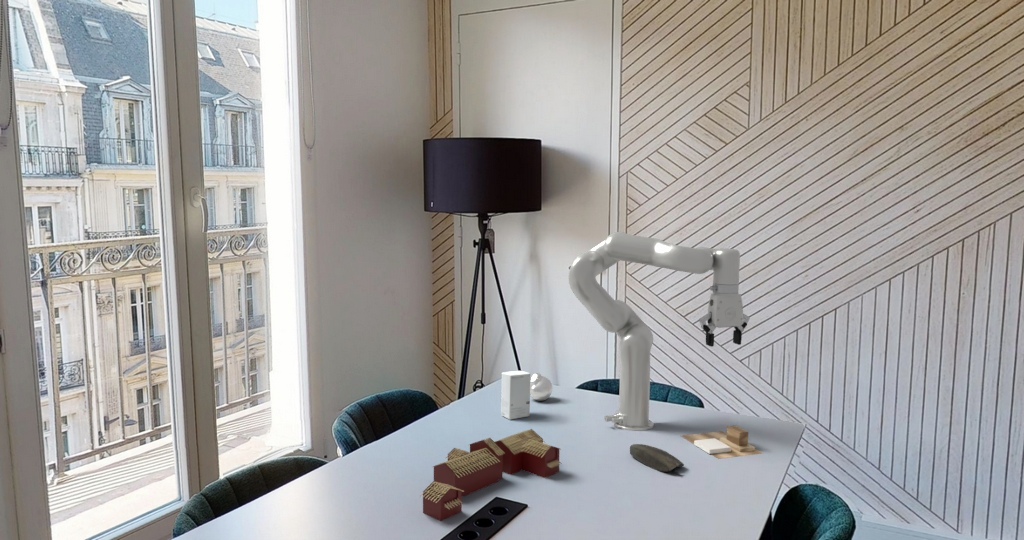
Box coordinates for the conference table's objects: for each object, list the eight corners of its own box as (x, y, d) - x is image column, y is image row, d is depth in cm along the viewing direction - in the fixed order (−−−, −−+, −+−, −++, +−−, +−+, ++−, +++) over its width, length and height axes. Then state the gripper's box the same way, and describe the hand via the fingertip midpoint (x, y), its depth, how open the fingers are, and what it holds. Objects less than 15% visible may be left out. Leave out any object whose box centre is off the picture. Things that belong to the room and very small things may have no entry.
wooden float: (740, 452, 204) (740, 435, 203) (719, 440, 213) (720, 424, 213) (754, 450, 205) (755, 433, 205) (733, 439, 215) (734, 423, 214)
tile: (694, 445, 209) (709, 454, 202) (694, 440, 209) (709, 449, 202) (714, 442, 211) (730, 452, 204) (714, 438, 211) (730, 447, 204)
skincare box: (509, 420, 233) (509, 375, 232) (499, 415, 238) (500, 372, 237) (530, 416, 238) (531, 372, 236) (520, 411, 243) (521, 368, 241)
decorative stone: (687, 471, 191) (687, 457, 191) (671, 477, 187) (671, 462, 187) (640, 453, 205) (640, 439, 204) (624, 458, 201) (624, 443, 200)
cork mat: (718, 460, 199) (718, 458, 199) (680, 437, 218) (680, 435, 217) (763, 455, 203) (763, 453, 203) (722, 432, 222) (722, 431, 222)
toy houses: (513, 452, 205) (513, 418, 204) (569, 471, 191) (570, 434, 190) (388, 501, 171) (387, 460, 170) (446, 528, 158) (446, 484, 157)
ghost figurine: (527, 396, 261) (527, 369, 260) (552, 397, 260) (553, 370, 259) (525, 403, 252) (525, 375, 251) (551, 404, 251) (552, 376, 250)
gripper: (708, 292, 210) (705, 349, 212) (757, 290, 215) (755, 345, 217) (694, 288, 217) (692, 344, 219) (742, 287, 222) (740, 340, 224)
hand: (723, 344), depth 218 cm, fingers open, 9 cm apart
